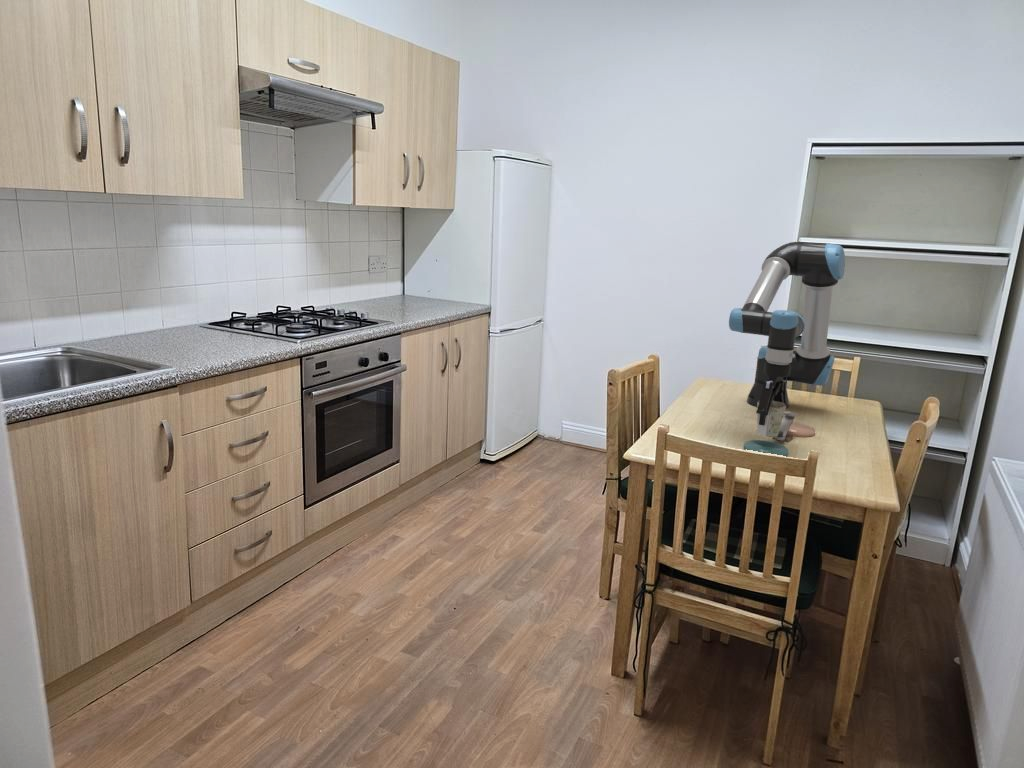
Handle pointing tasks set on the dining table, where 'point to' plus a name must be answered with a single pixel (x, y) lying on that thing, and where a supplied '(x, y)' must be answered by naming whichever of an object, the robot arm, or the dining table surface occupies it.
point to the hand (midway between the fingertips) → (768, 430)
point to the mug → (774, 418)
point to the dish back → (801, 430)
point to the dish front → (766, 447)
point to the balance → (786, 427)
